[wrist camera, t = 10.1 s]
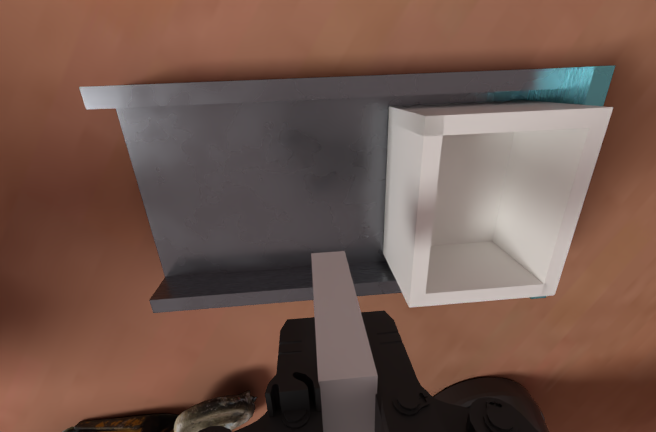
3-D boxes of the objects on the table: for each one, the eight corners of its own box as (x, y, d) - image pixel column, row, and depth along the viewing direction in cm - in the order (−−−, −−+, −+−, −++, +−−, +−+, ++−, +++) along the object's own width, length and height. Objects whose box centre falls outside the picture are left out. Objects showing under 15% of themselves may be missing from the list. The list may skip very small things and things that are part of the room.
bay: (537, 69, 23) (615, 65, 17) (498, 256, 29) (545, 297, 24) (119, 86, 21) (52, 87, 16) (174, 280, 28) (141, 332, 22)
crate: (524, 100, 23) (613, 107, 16) (494, 245, 27) (554, 295, 21) (389, 106, 22) (425, 116, 16) (383, 253, 27) (409, 307, 20)
